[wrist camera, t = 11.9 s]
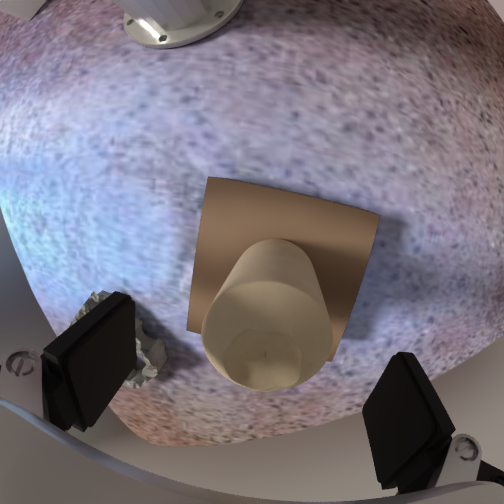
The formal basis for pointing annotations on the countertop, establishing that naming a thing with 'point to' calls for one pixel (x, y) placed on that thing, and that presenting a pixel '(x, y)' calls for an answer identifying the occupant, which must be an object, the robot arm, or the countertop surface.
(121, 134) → the countertop surface
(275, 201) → the plinth
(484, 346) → the countertop surface
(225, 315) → the candle
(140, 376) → the egg carton
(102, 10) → the countertop surface
